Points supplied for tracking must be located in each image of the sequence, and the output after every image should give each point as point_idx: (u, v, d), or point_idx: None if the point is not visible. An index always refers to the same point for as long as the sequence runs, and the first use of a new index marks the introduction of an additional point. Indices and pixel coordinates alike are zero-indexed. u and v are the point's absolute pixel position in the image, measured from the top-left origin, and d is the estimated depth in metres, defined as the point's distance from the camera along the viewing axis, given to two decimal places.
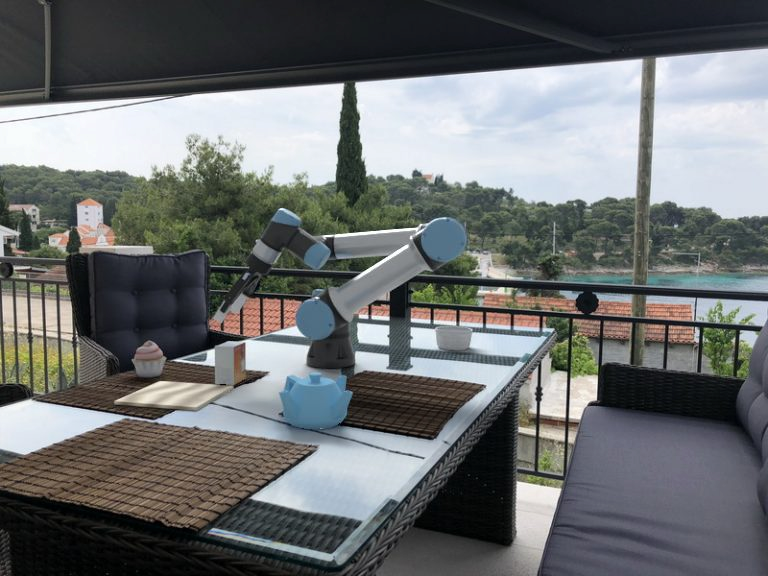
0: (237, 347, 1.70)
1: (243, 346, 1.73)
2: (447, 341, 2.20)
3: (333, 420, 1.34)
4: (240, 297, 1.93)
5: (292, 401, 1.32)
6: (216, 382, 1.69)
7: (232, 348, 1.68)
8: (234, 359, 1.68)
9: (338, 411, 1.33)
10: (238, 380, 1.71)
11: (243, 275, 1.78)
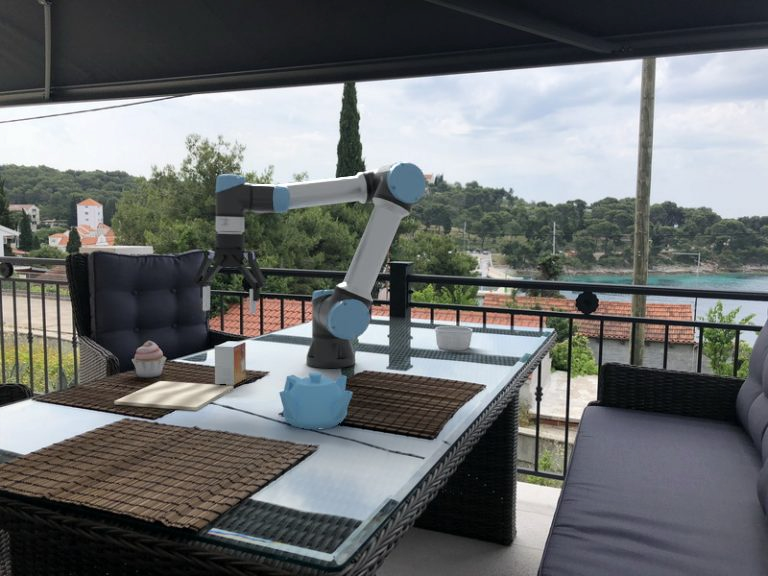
0: (237, 347, 1.70)
1: (243, 346, 1.73)
2: (447, 341, 2.20)
3: (333, 420, 1.34)
4: (207, 291, 1.72)
5: (292, 401, 1.32)
6: (216, 382, 1.69)
7: (232, 348, 1.68)
8: (234, 359, 1.68)
9: (338, 411, 1.33)
10: (238, 380, 1.71)
11: (252, 255, 1.68)
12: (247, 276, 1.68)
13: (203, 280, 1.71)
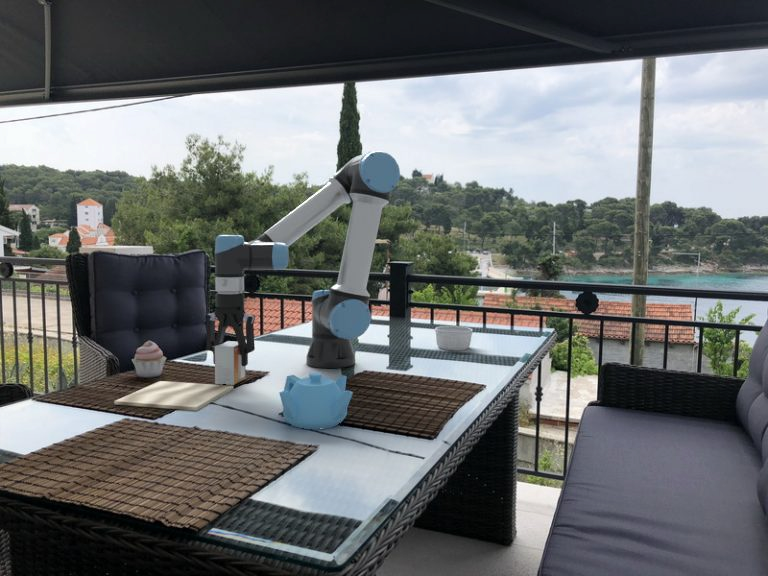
0: (237, 347, 1.70)
1: None
2: (447, 341, 2.20)
3: (333, 420, 1.34)
4: None
5: (292, 401, 1.32)
6: (216, 382, 1.69)
7: (232, 348, 1.68)
8: (234, 359, 1.68)
9: (338, 411, 1.33)
10: (238, 380, 1.71)
11: (252, 320, 1.69)
12: (240, 340, 1.70)
13: None
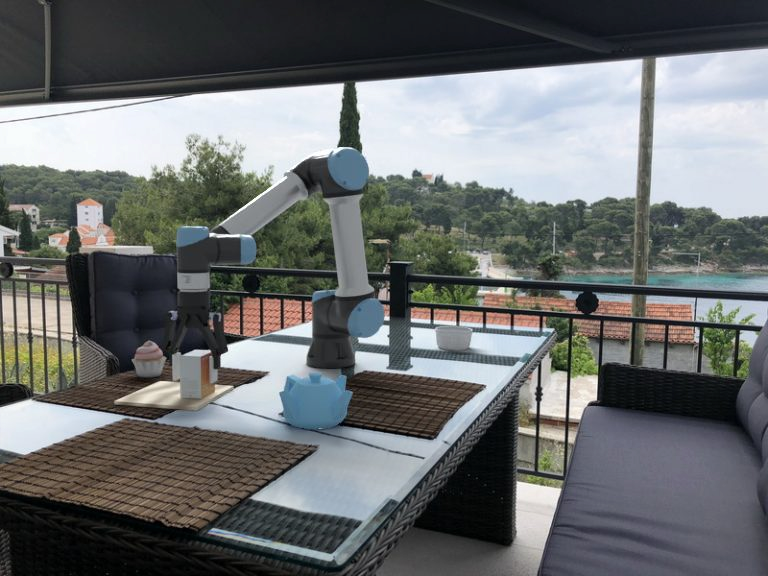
0: (204, 357, 1.53)
1: None
2: (447, 341, 2.20)
3: (333, 420, 1.34)
4: (177, 358, 1.56)
5: (292, 401, 1.32)
6: (181, 395, 1.53)
7: (199, 358, 1.51)
8: (201, 370, 1.52)
9: (338, 411, 1.33)
10: (206, 393, 1.55)
11: (218, 318, 1.53)
12: (209, 341, 1.53)
13: (171, 346, 1.55)
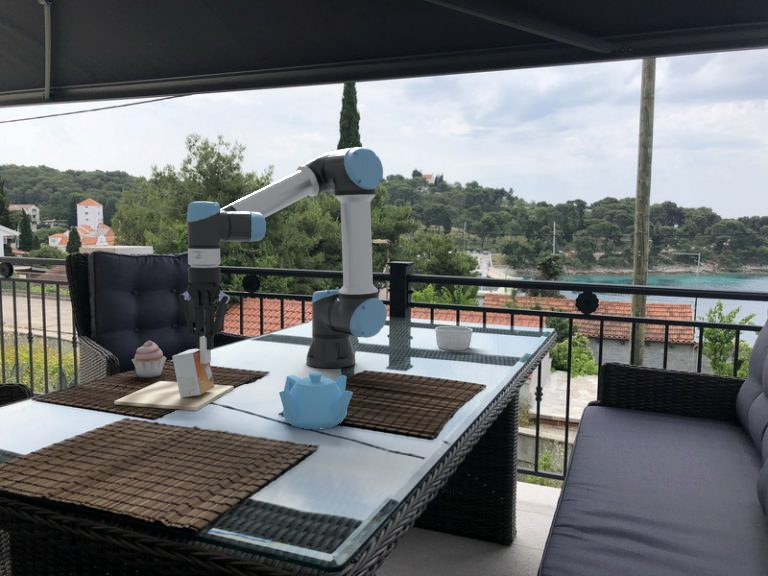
0: (197, 353, 1.53)
1: None
2: (447, 341, 2.20)
3: (333, 420, 1.34)
4: None
5: (292, 401, 1.32)
6: (181, 395, 1.53)
7: (191, 354, 1.51)
8: (196, 366, 1.52)
9: (338, 411, 1.33)
10: (205, 389, 1.55)
11: (226, 301, 1.52)
12: (208, 320, 1.52)
13: (197, 328, 1.53)
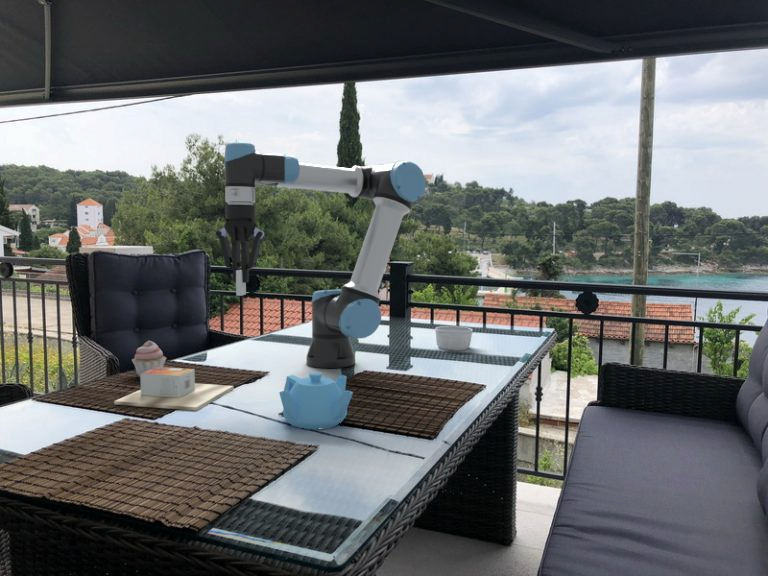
0: (146, 371, 1.56)
1: (156, 368, 1.60)
2: (447, 341, 2.20)
3: (333, 420, 1.34)
4: None
5: (292, 401, 1.32)
6: (177, 396, 1.53)
7: (141, 374, 1.54)
8: (153, 373, 1.54)
9: (338, 411, 1.33)
10: (182, 373, 1.55)
11: (261, 236, 1.62)
12: (244, 254, 1.63)
13: (233, 262, 1.64)
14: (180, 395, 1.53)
